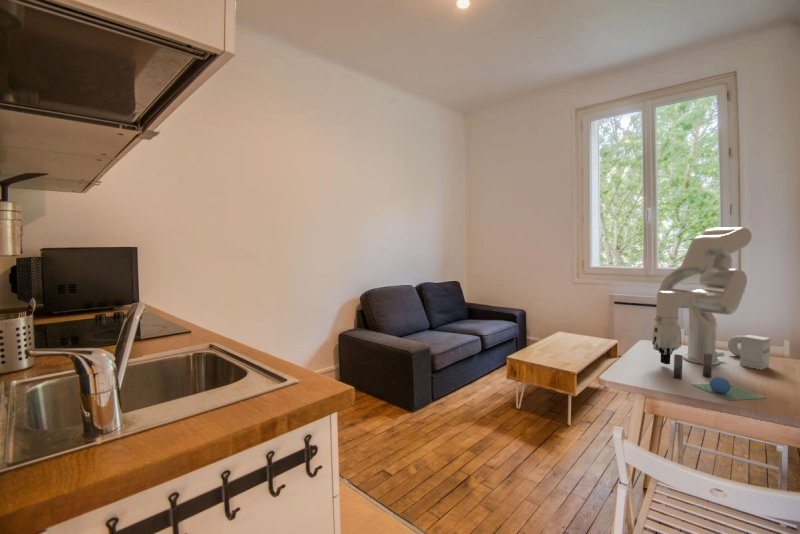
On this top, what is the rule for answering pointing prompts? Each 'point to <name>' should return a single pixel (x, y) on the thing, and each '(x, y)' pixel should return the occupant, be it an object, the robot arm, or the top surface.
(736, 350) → the donut
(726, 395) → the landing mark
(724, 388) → the ball
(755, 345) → the supplement box
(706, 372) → the post
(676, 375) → the post
